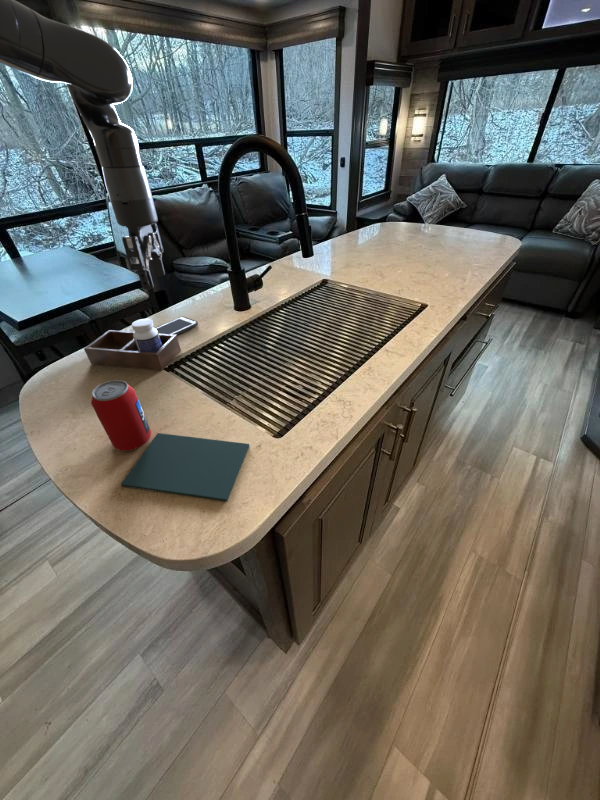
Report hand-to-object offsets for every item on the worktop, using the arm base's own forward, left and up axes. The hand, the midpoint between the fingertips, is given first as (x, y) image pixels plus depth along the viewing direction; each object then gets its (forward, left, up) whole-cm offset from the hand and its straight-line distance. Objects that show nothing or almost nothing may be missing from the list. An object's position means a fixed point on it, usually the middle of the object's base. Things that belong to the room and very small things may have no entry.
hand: (154, 281), depth 73 cm
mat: (+18, -33, -20) cm, 42 cm away
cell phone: (-9, +14, -20) cm, 26 cm away
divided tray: (-11, -1, -20) cm, 22 cm away
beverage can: (+6, -29, -20) cm, 35 cm away
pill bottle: (-6, -1, -20) cm, 21 cm away
